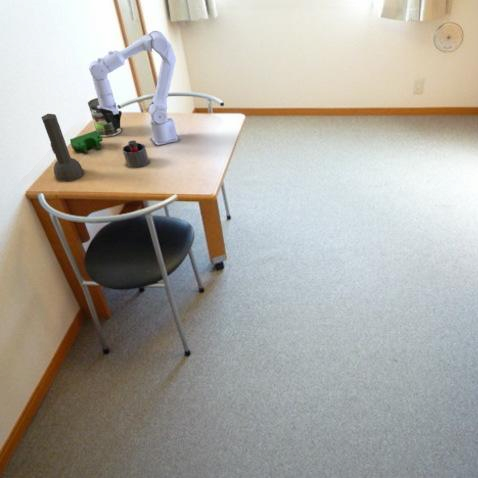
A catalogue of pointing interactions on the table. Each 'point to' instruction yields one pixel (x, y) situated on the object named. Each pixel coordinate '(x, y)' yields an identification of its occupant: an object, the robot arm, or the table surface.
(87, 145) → the green notched block
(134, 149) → the marker
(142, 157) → the cup
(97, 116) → the coffee can
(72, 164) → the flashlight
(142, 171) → the table surface
